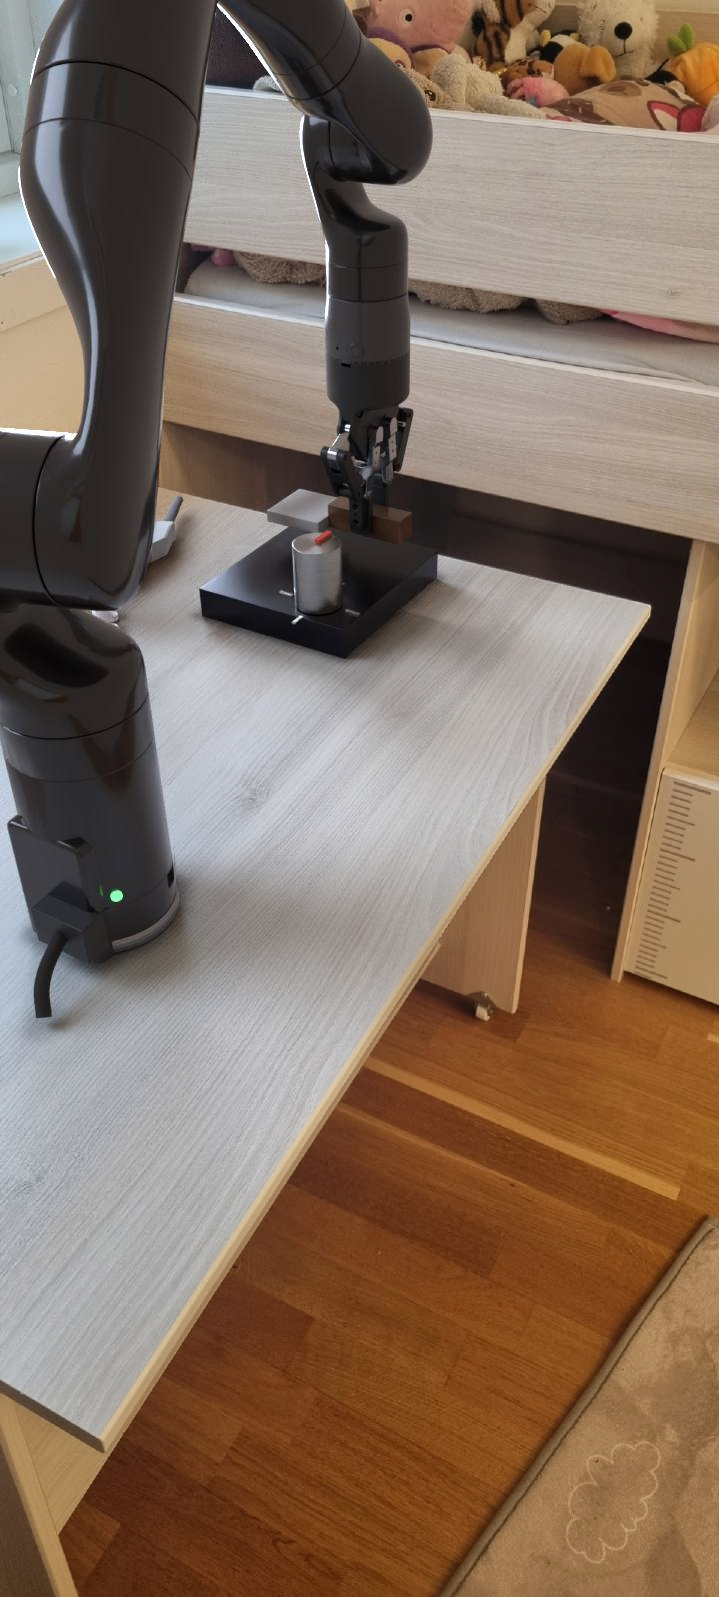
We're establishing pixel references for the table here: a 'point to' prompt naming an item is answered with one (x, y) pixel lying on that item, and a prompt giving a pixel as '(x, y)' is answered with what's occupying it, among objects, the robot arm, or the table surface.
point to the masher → (337, 516)
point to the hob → (370, 583)
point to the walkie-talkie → (165, 531)
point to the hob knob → (317, 573)
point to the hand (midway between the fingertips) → (369, 525)
